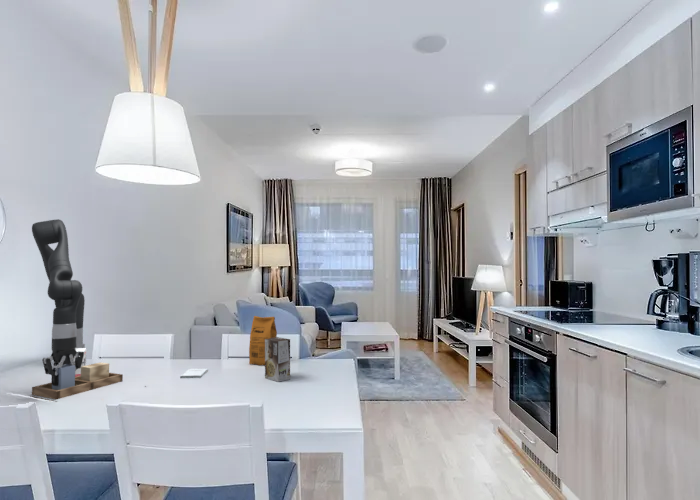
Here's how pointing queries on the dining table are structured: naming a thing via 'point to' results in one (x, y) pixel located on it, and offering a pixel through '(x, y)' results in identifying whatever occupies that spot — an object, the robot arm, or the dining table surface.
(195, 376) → the external hard drive
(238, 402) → the dining table surface
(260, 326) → the coffee package
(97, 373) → the oak block
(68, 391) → the tray
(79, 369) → the ink box
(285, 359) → the coffee box
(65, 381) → the slate block
